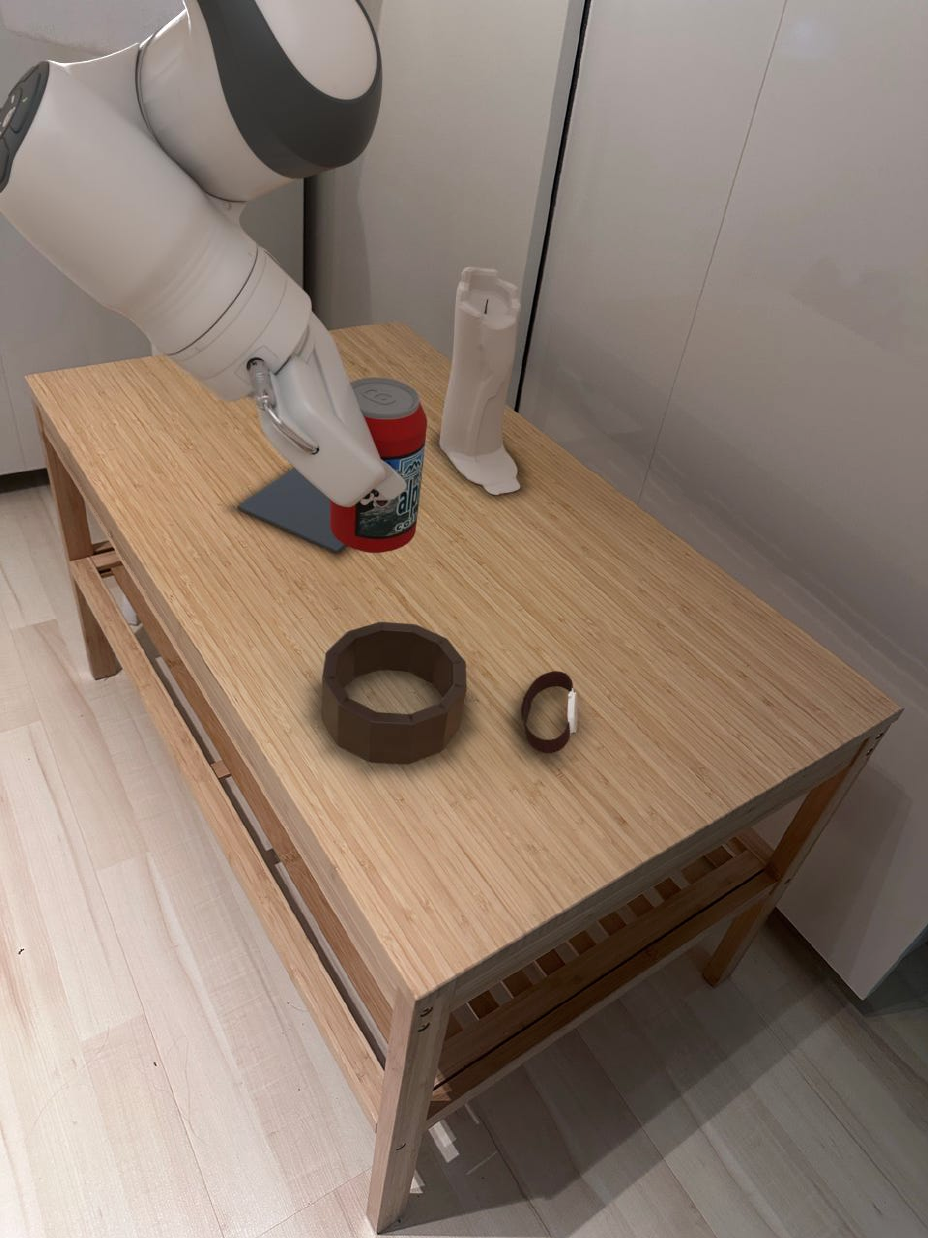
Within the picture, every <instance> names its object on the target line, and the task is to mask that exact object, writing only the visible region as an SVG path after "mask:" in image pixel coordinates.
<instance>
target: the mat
mask: <svg viewBox="0 0 928 1238" xmlns="http://www.w3.org/2000/svg"><path fill="white" fill-rule="evenodd" d="M236 507H237V510H239V511H241V512H243V513H246V514H247V515H250V516H252V517H254V518H257V519H258V520H261V521H263V522H265V523H267V524H269V525H272V526H274V527H276V528H279V529H281V530H284V532H288V533H289V534H292V535H294V536H296V537H298V538H301V539H303V540H305V541H307V542H310V543H312V544H314V545H317V546H319V547H321V548H323V549H324V550H328V551H330V552H332V553H334V554H337V555H338V554H339V553H341V551H342V550H344V549H345V548H346V547H347V546H346V545H344V544H343V543H341V542H340V541H339V540H338V539H337V538H336V537H335V536H334V535H333V533H332V531H331V528H330V499H329V498H328V497H327V496H326V495H325V494H323V493H322V492H321V491H320V490H319V489H318V488H317V487H315V486H314V485H313V484H312V483H311V482H310V481H309V480H308V479H306V478H305V477H304V476H303V475H302V474H301V473H300V472H299V471H298V470H297V469H295V468H294V467H293V468H292V469H290V470H288V471H287V472H285V473H284V474H283V475H281V476H280V477H278V478H277V479H275V480H274V481H272V482H270V483H269V484H267V485H266V486H265V487H263V488H262V489H260V490H259V491H257V492H255V493H254V494H252V496H249V497H248V498H247V499H246V500H244V501H242V502H241V503H240V504H238V505H237V506H236Z"/></svg>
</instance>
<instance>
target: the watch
mask: <svg viewBox="0 0 928 1238" xmlns="http://www.w3.org/2000/svg"><path fill="white" fill-rule="evenodd" d="M553 687H558V688H562V689H565V690H566V691H567V692H569V693H568V694H567V698H568V699H567V725H566V728H565V729H564V731H563V732H562V734H560V735H559V736H557V737H556V738H551V739H545V738H541V737H538V736H536V735H535V734H533V732H532V731H531V730H530V729H529V728H528V726H527V723H528V718H529V713H530V711H531V707H532V702H533V700H534V699H535V697H536V696H537V695H538V694H539V693H541V692H542V691H544V690H545V689H549V688H553ZM578 701H579V700H578V693H577V692H576V691H575V690H574V682H573V680H572V678H571V676H570V675H568V674H567V673H565V672H563V671H557V670H554V671H553V670H552V671H549V672H546V673H543V674H541V675H539V676H538V677H536V678H535V679H534V680H533V681H532V683H530V686H529V687H528V689H527V690H526V692H525V693H524V696H523V698H522V702H521V707H520V713H521V720H522V722H523V729H524V735H525V738H526V741H527V742H528V744H529V745H530V746H531V747H532V748H533V749H534V750H536V751H537V752H540V753H543V754H554V753H558V752H559V751H561V750H562V749H564V748H565V747H566V746H567V744H568V742H569V740H570V738H572V734H573V733H574V734H575V733H577V730H578V722H579V721H578V720H579V718H578V717H579V716H578V715H579V714H578V713H579V704H578Z"/></svg>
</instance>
